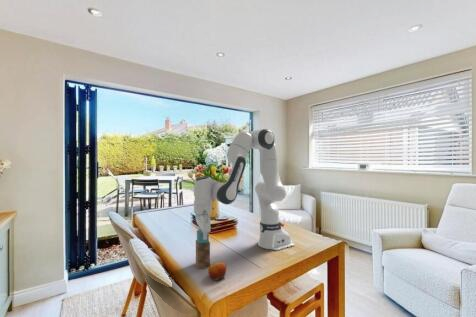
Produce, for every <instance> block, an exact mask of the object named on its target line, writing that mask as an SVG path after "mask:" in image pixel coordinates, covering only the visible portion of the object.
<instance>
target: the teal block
mask: <svg viewBox="0 0 476 317" xmlns="http://www.w3.org/2000/svg"><path fill="white" fill-rule="evenodd" d="M209 234H210V232H208V234H207V239H206V240H203V232H202V230H199V229H198V230H196V240H197V242H198V244H201V243H208V242H210V241H209V238H210V237H209Z"/></svg>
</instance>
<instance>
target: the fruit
mask: <svg viewBox="0 0 476 317" xmlns="http://www.w3.org/2000/svg"><path fill="white" fill-rule="evenodd" d="M226 272H227V265H226V264H225V262H224V261H223V262H222V261H217V262H213V263H212V264H210V267H208V275H209V277H210V279H211V280H214V281H216V282H218V280H220V279H224V280H225V275H226Z"/></svg>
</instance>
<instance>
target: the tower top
mask: <svg viewBox="0 0 476 317" xmlns="http://www.w3.org/2000/svg"><path fill="white" fill-rule="evenodd" d="M196 253H197V256H205V255H210V256H211V242H210V241H209V242H208V243H201V244H198V242H197V239H195V254H196Z"/></svg>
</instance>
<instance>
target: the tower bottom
mask: <svg viewBox="0 0 476 317" xmlns="http://www.w3.org/2000/svg"><path fill="white" fill-rule="evenodd" d="M195 265H196V267H197V270H199V269H205V268H209V267H210V266H211V254H210V255H205V256H197V253H196V252H195Z"/></svg>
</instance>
